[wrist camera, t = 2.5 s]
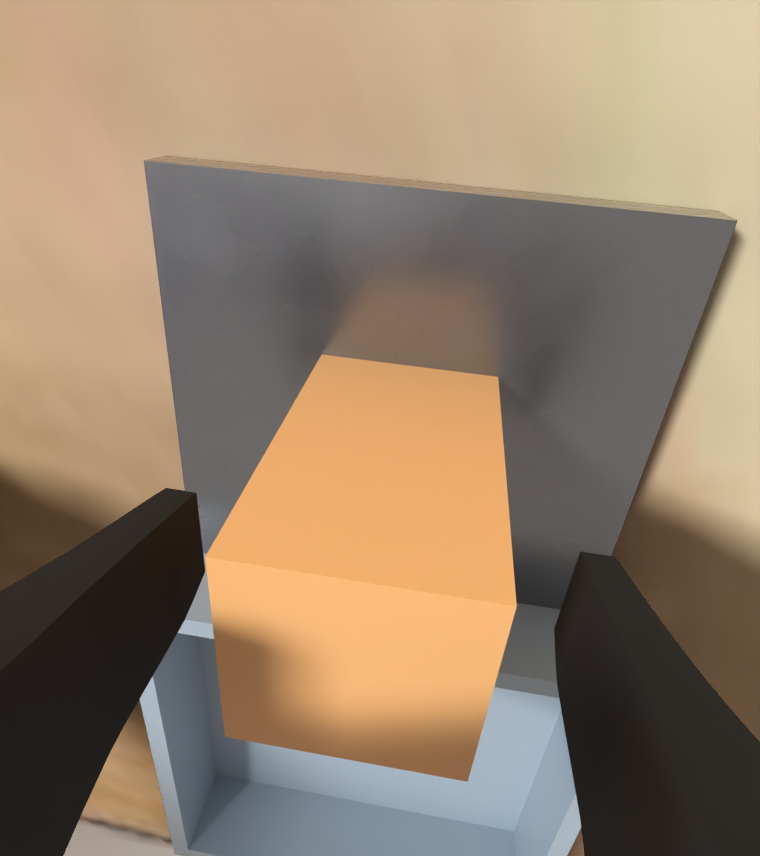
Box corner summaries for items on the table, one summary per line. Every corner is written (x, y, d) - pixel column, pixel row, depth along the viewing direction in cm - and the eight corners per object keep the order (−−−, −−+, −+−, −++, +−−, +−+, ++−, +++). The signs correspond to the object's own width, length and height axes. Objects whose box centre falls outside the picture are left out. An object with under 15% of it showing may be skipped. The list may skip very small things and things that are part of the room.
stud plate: (207, 553, 19) (119, 707, 14) (166, 156, 13) (-15, 195, 8) (575, 611, 18) (612, 798, 13) (718, 211, 12) (879, 292, 7)
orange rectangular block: (318, 494, 16) (225, 736, 10) (321, 354, 14) (204, 557, 8) (470, 516, 16) (467, 781, 10) (498, 376, 13) (517, 606, 8)
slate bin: (209, 765, 26) (174, 854, 23) (175, 525, 19) (118, 608, 16) (524, 825, 25) (531, 926, 22) (617, 594, 18) (646, 697, 15)
